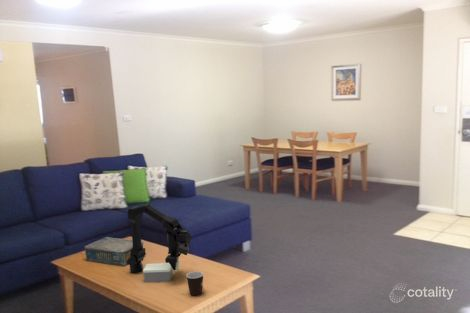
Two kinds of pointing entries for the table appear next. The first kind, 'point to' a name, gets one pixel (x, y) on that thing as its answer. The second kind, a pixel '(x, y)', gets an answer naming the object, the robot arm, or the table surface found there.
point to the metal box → (110, 251)
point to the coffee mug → (195, 283)
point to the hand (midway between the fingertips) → (175, 268)
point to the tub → (158, 276)
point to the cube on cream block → (159, 267)
